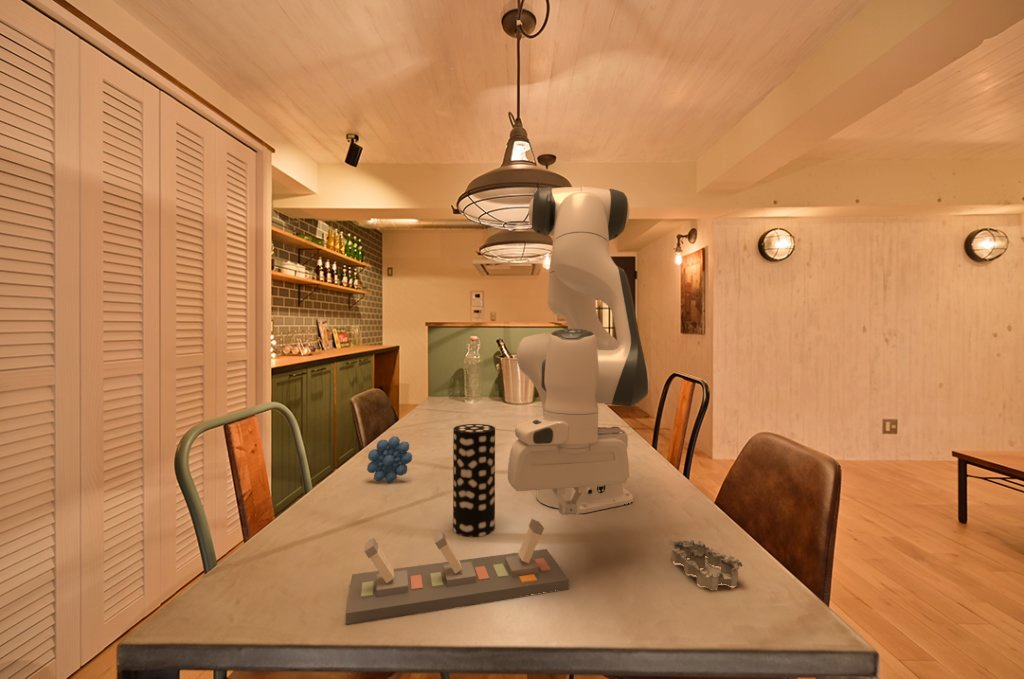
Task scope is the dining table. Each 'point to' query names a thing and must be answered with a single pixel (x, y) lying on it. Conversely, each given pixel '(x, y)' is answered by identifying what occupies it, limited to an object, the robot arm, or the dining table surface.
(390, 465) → the blue lobed flower shape
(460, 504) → the white-spotted black cylinder
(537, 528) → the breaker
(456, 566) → the breaker mid
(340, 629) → the dining table surface
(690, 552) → the egg carton
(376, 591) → the breaker panel
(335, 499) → the dining table surface
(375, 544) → the breaker far
